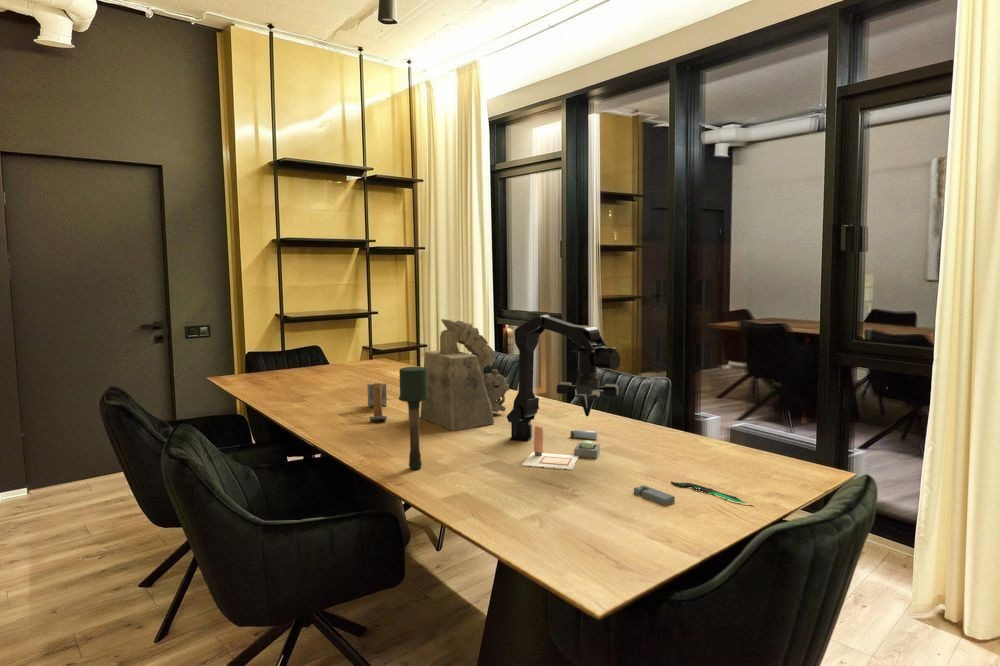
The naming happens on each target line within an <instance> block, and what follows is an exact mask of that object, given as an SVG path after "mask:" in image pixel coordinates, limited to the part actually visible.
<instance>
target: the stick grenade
mask: <svg viewBox="0 0 1000 666" xmlns="http://www.w3.org/2000/svg"><path fill="white" fill-rule="evenodd" d="M427 399H428V395H427V369H426V368H424V366H404V367H402V368H400V369H399V397H398V400H399V401H401V402H406V403H407V407H408V421H409V443H410V444H409V447H410V449H409V454H408V455H409V456H408V457H409V459H408V461H409V462H408V467H409V469H410V470H412V469H413V470H412V471H416V470H415V469H418V470H421V467H422V456H421V455H422V454H421V451H420V418H421V413H420V408H421V406H420V405H421V402H422V401H424V400H427Z"/></svg>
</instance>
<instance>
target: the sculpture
mask: <svg viewBox="0 0 1000 666" xmlns="http://www.w3.org/2000/svg"><path fill="white" fill-rule="evenodd" d="M440 321H441V323H443V325H444V327H445V328H446V329H444V330H442V331H441V332H440V335H439V350H431V351H429V350H428V351H425V352H424V361H423V362H424V363H423V367H424V368H426V369H427V395H428V399H427V400H424V401H420V405H421V406H420V418H422V419H424V420H427V421H429V422H431V423H433V424H435V423H436V425H438V426H440V427H442V426H443V428H444V429H447V430H449V429H450V431H455V430H456V431H461V430H467V429H472V428H477V427H483V426H490V425H493V424H495V418H494V415H493V412H495V413H499V411H501V412H505V411H506V406H504V403H506V402H505V401H506V393H507V392H509V391H510V384H509V383H507V382H508V380H509V379H508V378H507V377H504V375H503V374H500V373H499V370H498V369H495V368H492V369H491V370H490V371H491V372H490V373H486V374H485V372H484V370H485V369H486V368H487V367H490V368H491V367H493V366H494V363H495V362H496V361H497V359H496V358H495V353H494V350H493V348H492V347H491V346H490V345H489V342H488V340H487V339H486V338H485V337H484V336H483V335H481V334H480V332H479V328H478V327H474V326H473V324H472V323H470V322H469V323H468V322H464V321H461V320H456V321H454V320H450V319H445V318H441V319H440ZM458 344H460V345H462V346H463V347H464V348H465V349H466V350H467V351H468V352H470V353H468V352H467V353H466V352H463V351H460V349H459V346H458Z"/></svg>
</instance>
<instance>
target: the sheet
mask: <svg viewBox="0 0 1000 666" xmlns="http://www.w3.org/2000/svg"><path fill="white" fill-rule="evenodd" d="M579 458H580V457H579V456H574V455H573V454H562V453H561V454H558V453H545V452H542V456H535V452H534V451H533V452H531V453H530V455H528V457H527V458H526V459H525V461H524V462H523V463H522V464H521V465H522V467H529V466H531V468H532V467H533V468H541V467H544V469H545V468H546V469H553V468H555V470H564V469H567V470H566V471H568V470H569V471H573V469H574V467H575V465H576V464H577V462H576V461H578V460H579ZM575 463H576V464H575Z"/></svg>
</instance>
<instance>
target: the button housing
mask: <svg viewBox="0 0 1000 666" xmlns="http://www.w3.org/2000/svg"><path fill="white" fill-rule="evenodd" d="M599 452H600V453H601V444H599V443H598V444H597V443H596V444H595V443H594V449H581V442H578V443H577V444H576V446H575V447H574V453H573V454H574V456H579V458H584V457H588V459H596V458H597V459H598V457H599V455H600V453H599ZM598 454H599V455H598Z"/></svg>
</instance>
